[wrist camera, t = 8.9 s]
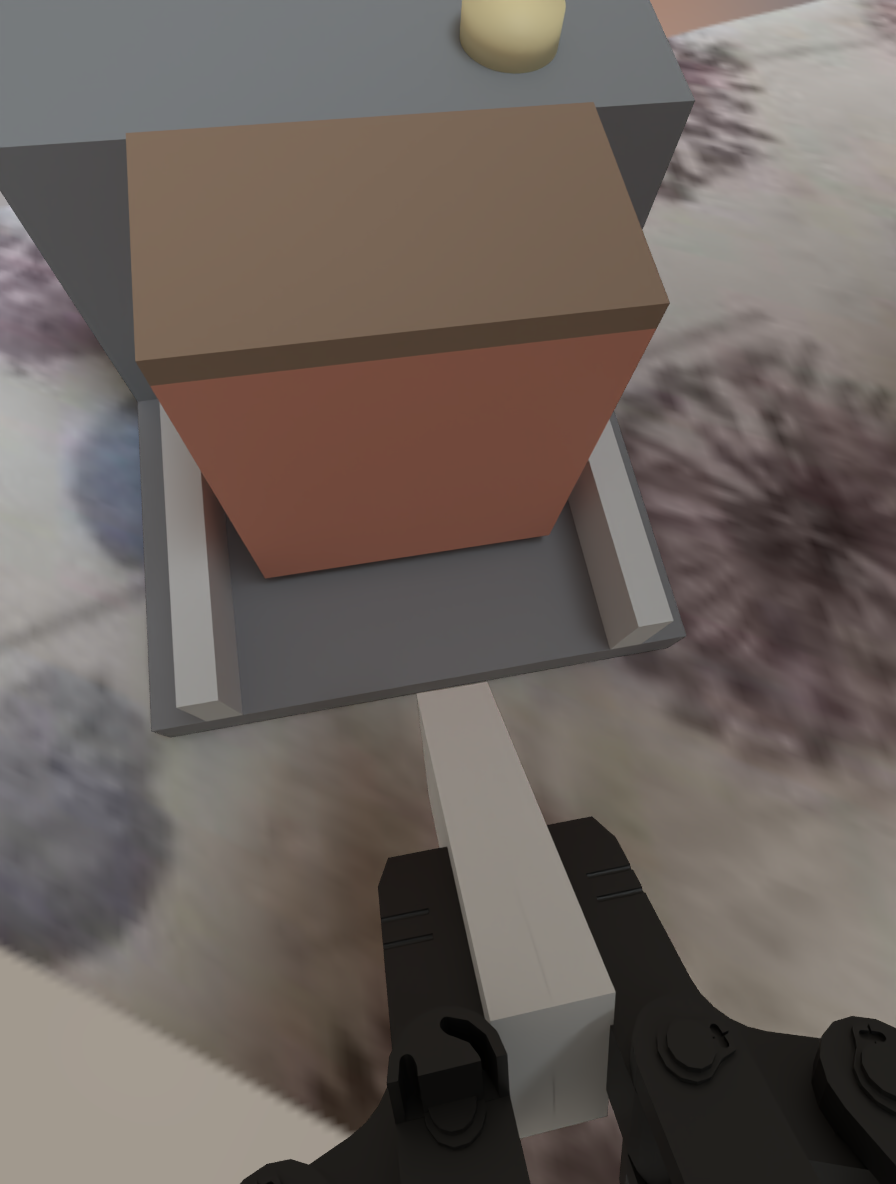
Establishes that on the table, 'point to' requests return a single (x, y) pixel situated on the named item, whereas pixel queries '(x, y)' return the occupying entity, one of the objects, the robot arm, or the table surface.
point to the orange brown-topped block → (388, 321)
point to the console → (168, 471)
